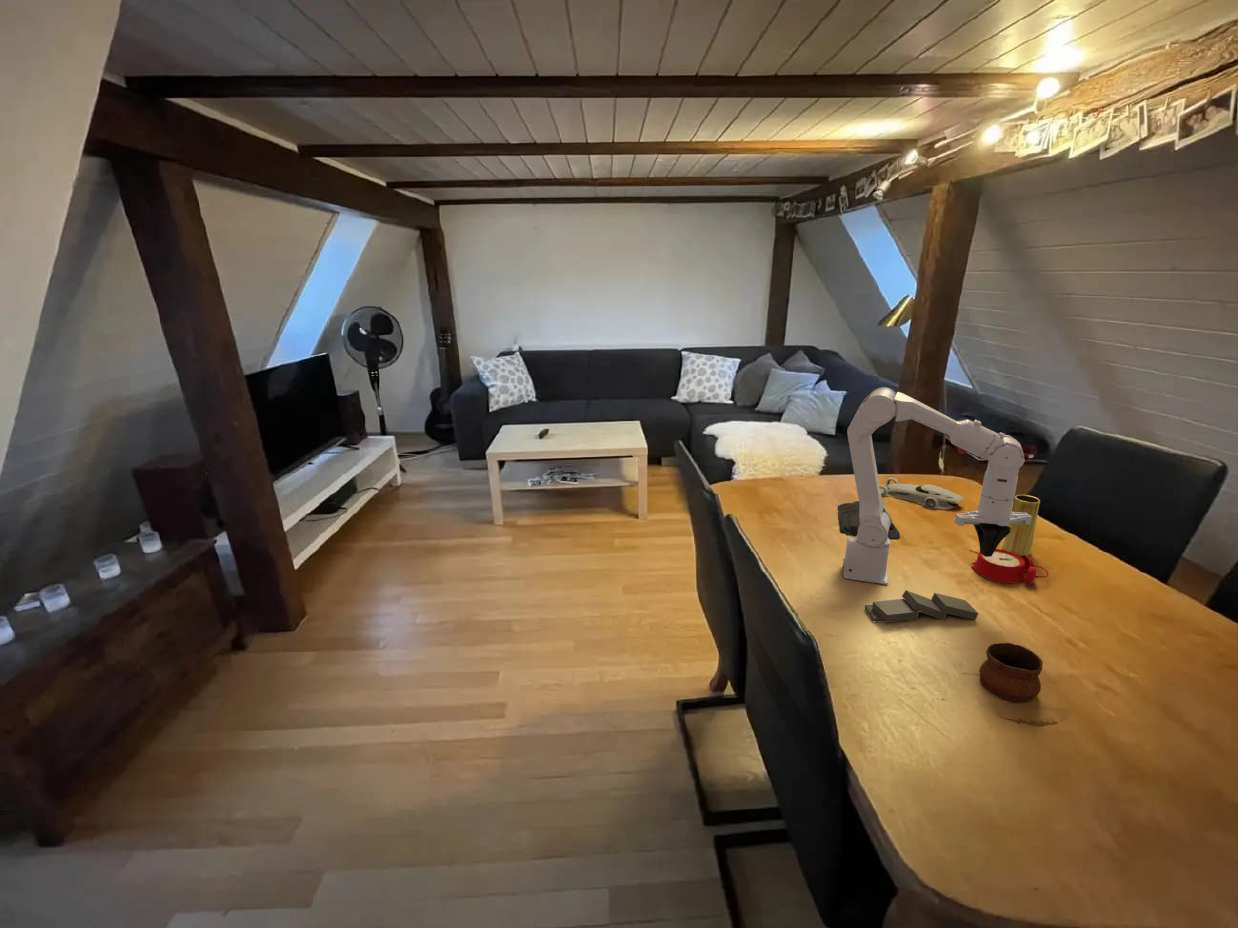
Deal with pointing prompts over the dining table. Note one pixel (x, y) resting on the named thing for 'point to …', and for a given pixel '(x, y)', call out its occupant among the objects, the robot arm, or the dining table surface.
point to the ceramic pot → (1012, 675)
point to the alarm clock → (1006, 567)
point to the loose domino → (877, 615)
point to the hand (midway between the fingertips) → (985, 554)
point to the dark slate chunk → (856, 520)
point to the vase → (1022, 526)
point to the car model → (921, 494)
